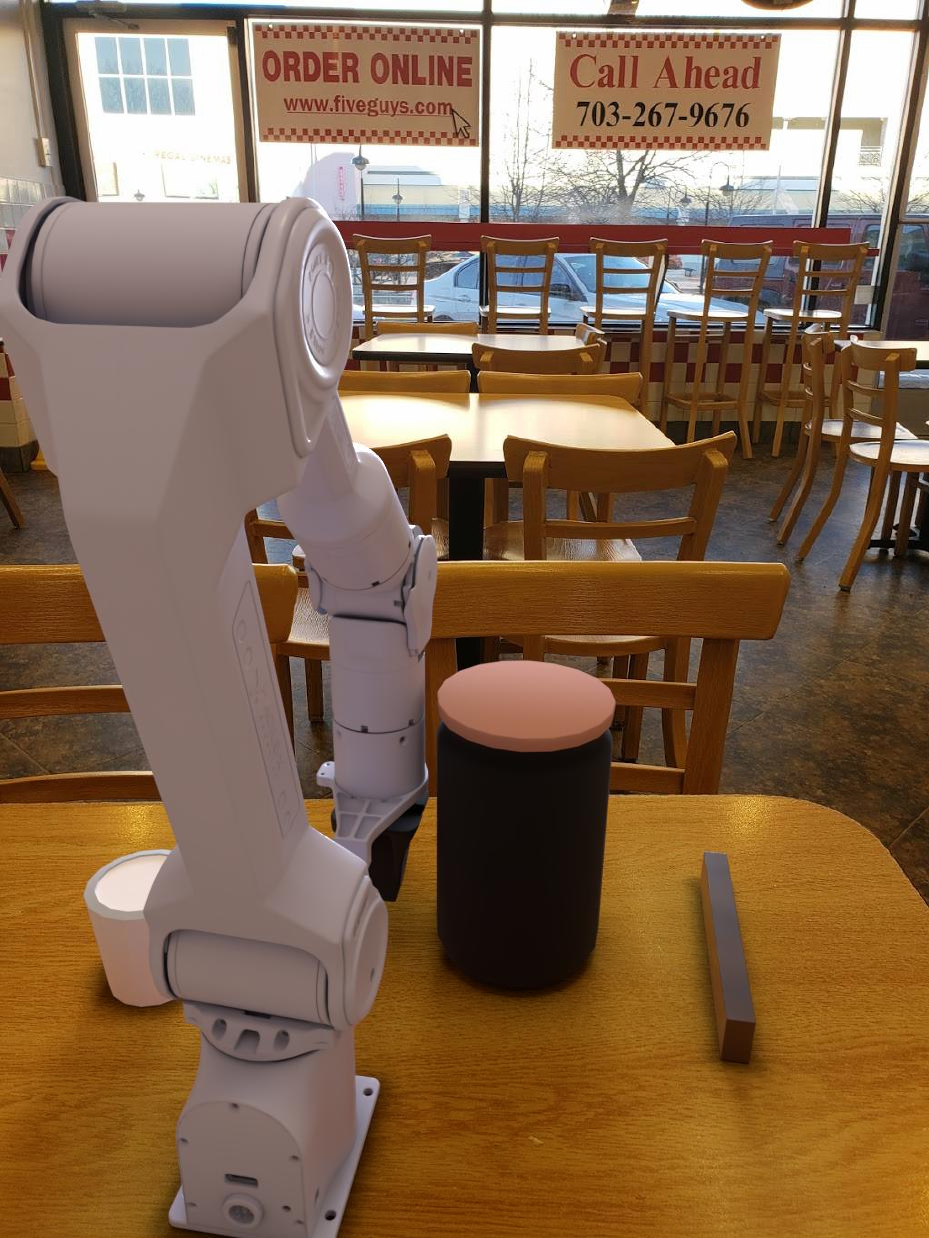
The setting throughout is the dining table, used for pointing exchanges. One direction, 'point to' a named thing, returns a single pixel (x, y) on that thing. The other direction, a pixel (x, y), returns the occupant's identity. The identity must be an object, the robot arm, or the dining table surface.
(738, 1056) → the bar
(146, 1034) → the dining table surface
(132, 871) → the white cup
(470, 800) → the coffee jar
